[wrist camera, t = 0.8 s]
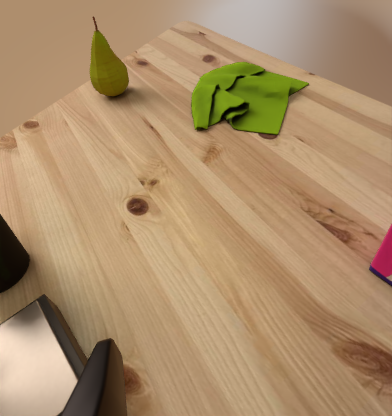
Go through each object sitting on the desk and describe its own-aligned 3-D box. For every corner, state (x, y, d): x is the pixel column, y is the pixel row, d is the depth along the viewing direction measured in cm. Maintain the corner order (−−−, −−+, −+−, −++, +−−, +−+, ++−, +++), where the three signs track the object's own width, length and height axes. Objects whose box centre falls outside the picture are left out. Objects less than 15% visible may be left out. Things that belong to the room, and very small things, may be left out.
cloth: (242, 59, 58) (242, 45, 57) (343, 97, 45) (347, 80, 43) (150, 100, 52) (147, 86, 50) (236, 158, 38) (236, 142, 37)
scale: (127, 429, 21) (112, 421, 18) (-27, 578, 17) (-69, 590, 15) (57, 306, 27) (40, 290, 25) (-63, 392, 24) (-95, 381, 22)
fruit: (99, 106, 53) (69, 28, 44) (96, 90, 57) (69, 17, 48) (135, 96, 53) (113, 18, 45) (130, 82, 58) (109, 8, 49)
